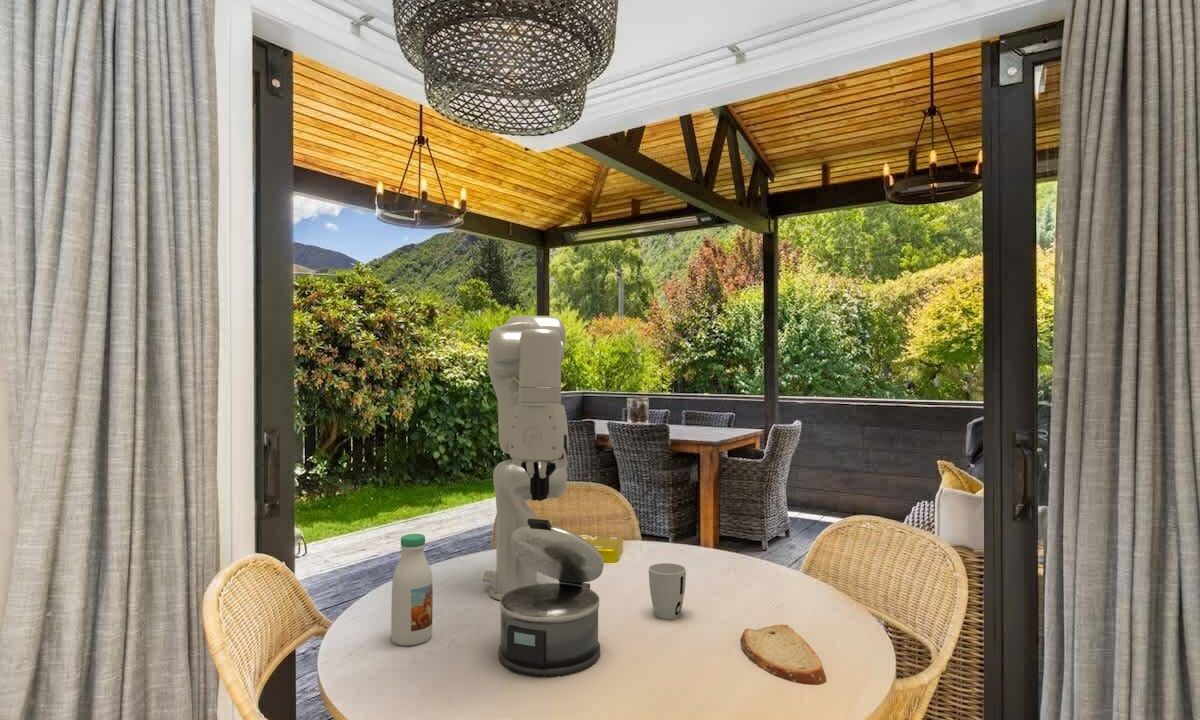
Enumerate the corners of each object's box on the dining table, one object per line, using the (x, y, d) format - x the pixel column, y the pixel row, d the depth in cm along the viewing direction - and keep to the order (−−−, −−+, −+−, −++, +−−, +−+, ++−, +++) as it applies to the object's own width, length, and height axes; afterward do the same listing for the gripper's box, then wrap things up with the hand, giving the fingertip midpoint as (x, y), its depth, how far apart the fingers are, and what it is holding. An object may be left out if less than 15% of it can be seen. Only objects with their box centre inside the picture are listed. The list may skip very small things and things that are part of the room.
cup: (684, 623, 133) (684, 575, 133) (646, 620, 134) (646, 572, 135) (687, 609, 141) (687, 564, 141) (650, 607, 142) (650, 561, 143)
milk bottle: (394, 650, 119) (396, 542, 120) (388, 635, 126) (389, 533, 127) (436, 642, 123) (437, 538, 123) (427, 628, 130) (428, 529, 130)
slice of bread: (821, 691, 105) (821, 668, 105) (718, 664, 115) (718, 643, 115) (845, 652, 120) (845, 632, 120) (753, 631, 130) (752, 612, 130)
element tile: (563, 563, 177) (563, 545, 178) (574, 549, 192) (574, 533, 192) (616, 566, 175) (616, 548, 175) (623, 551, 190) (623, 535, 190)
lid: (491, 519, 117) (497, 507, 119) (530, 579, 130) (534, 567, 132) (584, 528, 110) (588, 515, 112) (614, 590, 124) (617, 577, 125)
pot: (477, 667, 112) (477, 609, 113) (535, 622, 133) (535, 574, 133) (574, 686, 105) (574, 625, 106) (619, 636, 126) (619, 585, 126)
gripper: (493, 397, 114) (492, 500, 114) (569, 398, 109) (569, 506, 108) (513, 396, 121) (513, 493, 121) (586, 397, 116) (585, 498, 115)
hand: (539, 499), depth 114 cm, fingers closed
